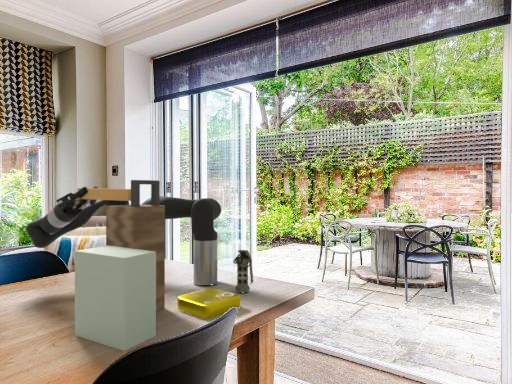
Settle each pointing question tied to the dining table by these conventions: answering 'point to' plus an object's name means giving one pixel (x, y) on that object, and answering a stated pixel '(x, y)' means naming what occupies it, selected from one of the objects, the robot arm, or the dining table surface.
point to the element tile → (208, 302)
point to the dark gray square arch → (136, 192)
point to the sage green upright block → (115, 295)
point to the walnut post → (140, 236)
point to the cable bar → (107, 194)
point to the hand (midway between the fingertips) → (91, 189)
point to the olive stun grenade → (243, 271)
